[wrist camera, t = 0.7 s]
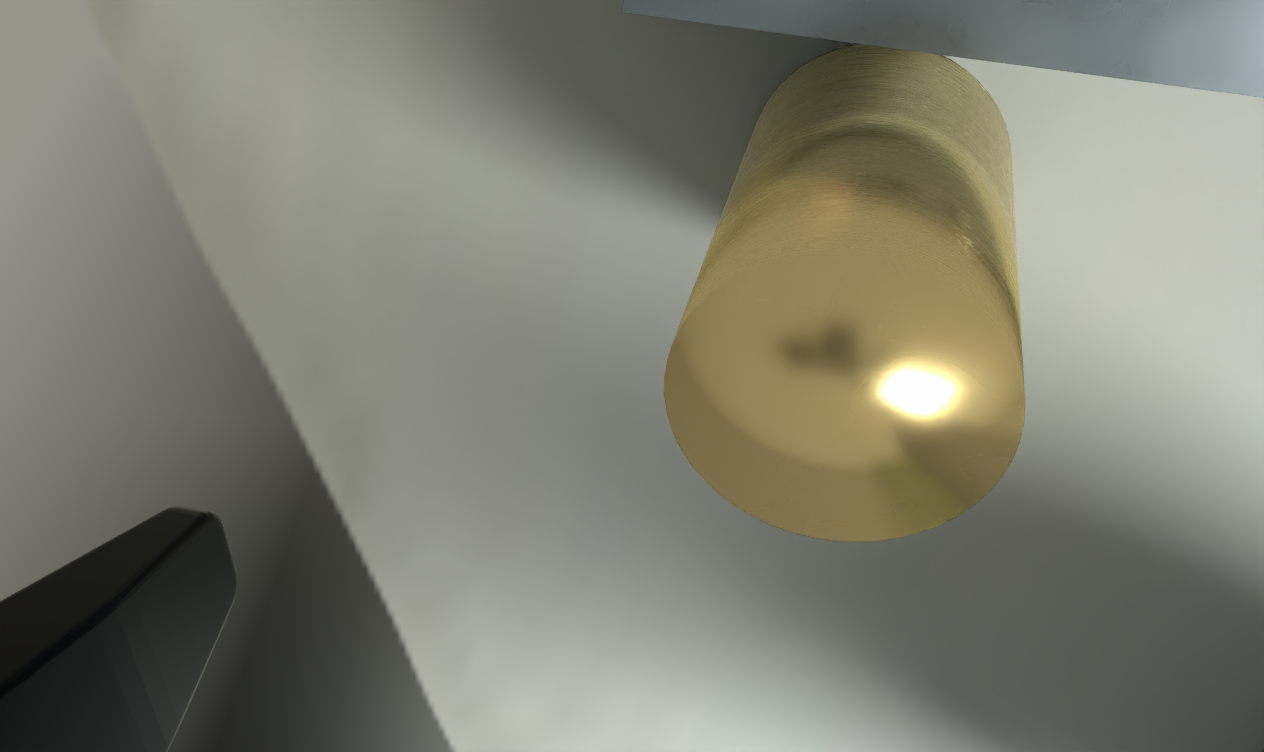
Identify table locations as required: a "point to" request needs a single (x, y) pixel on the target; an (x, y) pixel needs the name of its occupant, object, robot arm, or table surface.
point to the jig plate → (1026, 33)
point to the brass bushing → (859, 305)
